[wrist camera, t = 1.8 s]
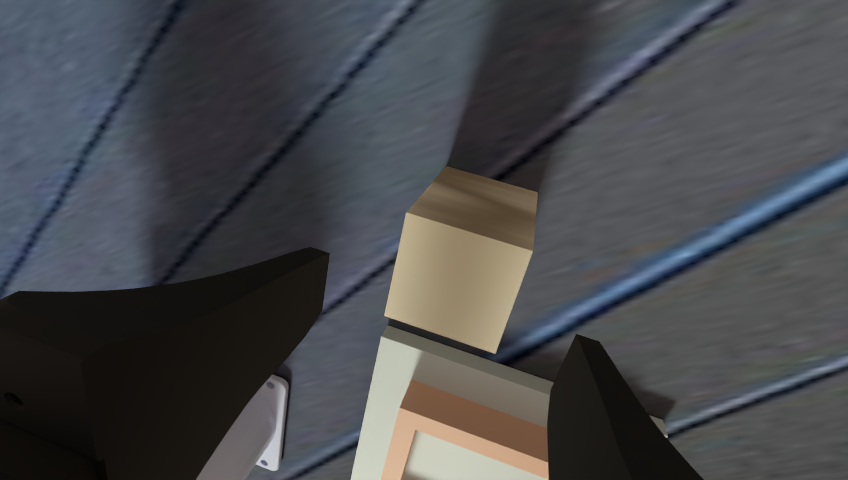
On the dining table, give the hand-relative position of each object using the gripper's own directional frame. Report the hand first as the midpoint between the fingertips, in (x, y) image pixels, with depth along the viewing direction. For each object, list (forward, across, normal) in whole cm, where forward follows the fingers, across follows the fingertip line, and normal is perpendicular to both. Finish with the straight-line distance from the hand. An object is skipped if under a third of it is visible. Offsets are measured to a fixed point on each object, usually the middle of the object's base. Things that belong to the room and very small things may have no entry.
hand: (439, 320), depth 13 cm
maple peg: (+8, 0, 0) cm, 8 cm away
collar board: (+8, -4, +14) cm, 17 cm away
